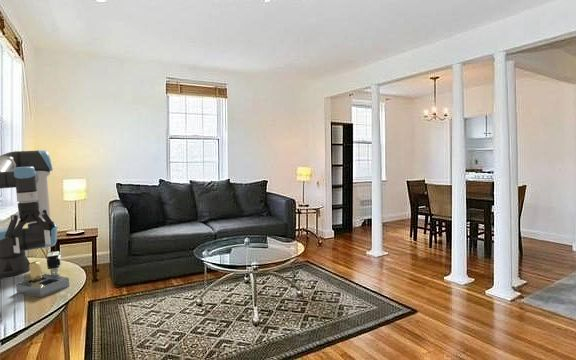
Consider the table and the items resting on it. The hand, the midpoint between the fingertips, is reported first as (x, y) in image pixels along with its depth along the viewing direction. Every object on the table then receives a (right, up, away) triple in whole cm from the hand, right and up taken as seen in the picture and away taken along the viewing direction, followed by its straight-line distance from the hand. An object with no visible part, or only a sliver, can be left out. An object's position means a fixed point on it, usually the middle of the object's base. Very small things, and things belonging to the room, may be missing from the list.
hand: (33, 248), depth 161 cm
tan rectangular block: (+1, -19, +2) cm, 19 cm away
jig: (+4, -19, 0) cm, 19 cm away
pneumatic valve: (-2, -17, +19) cm, 26 cm away
